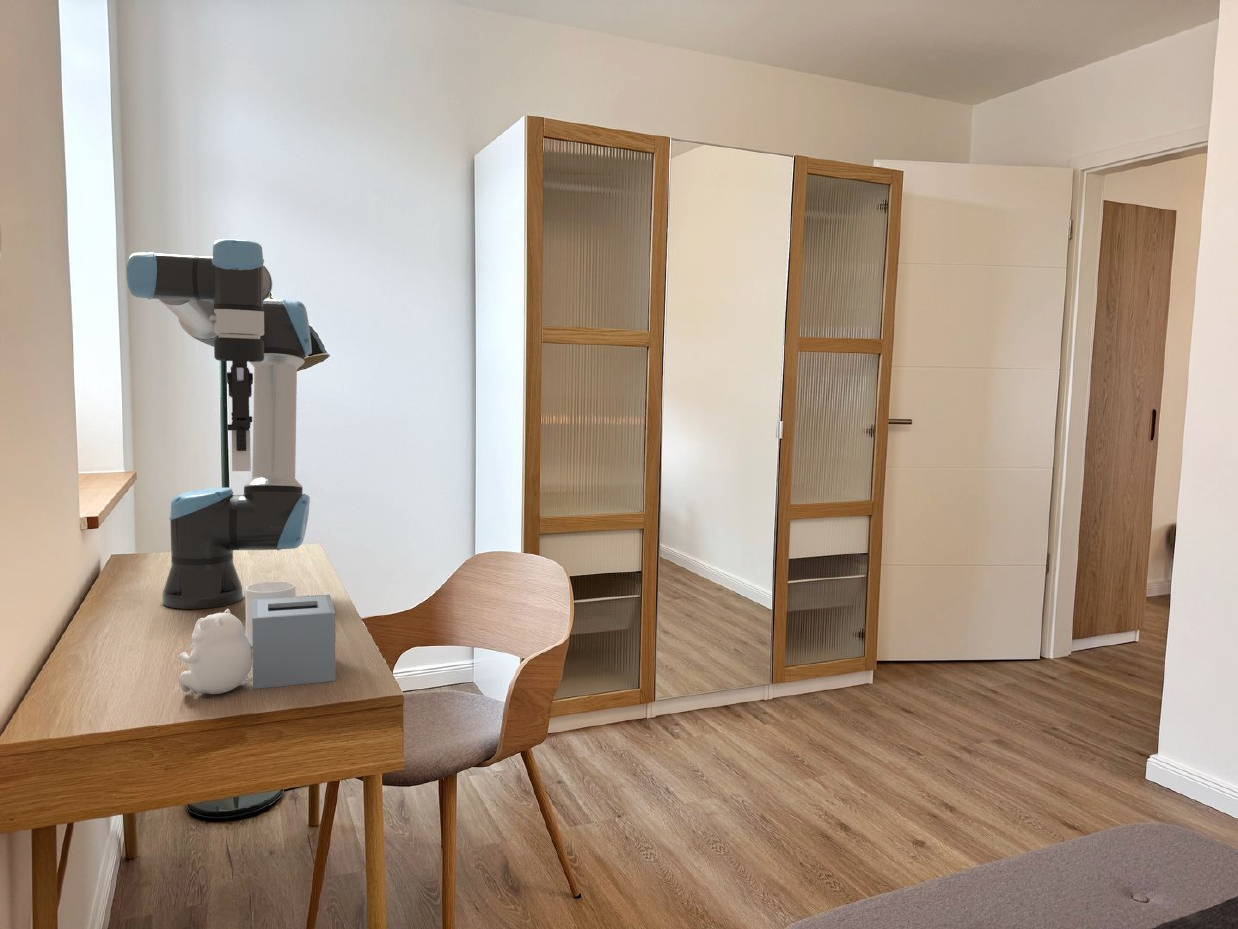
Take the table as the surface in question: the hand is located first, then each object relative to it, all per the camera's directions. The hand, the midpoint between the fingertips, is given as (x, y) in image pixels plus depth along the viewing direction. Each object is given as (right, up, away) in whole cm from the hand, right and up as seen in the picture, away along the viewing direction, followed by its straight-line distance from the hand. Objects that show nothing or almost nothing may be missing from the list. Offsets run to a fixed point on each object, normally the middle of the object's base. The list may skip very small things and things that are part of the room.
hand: (241, 465), depth 145 cm
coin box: (+11, -33, -5) cm, 35 cm away
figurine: (+3, -34, -13) cm, 37 cm away
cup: (0, -32, +13) cm, 34 cm away
